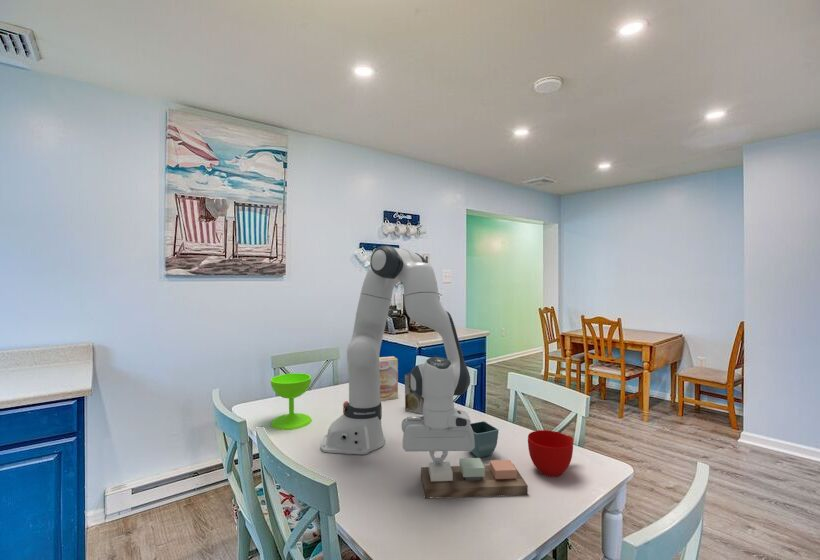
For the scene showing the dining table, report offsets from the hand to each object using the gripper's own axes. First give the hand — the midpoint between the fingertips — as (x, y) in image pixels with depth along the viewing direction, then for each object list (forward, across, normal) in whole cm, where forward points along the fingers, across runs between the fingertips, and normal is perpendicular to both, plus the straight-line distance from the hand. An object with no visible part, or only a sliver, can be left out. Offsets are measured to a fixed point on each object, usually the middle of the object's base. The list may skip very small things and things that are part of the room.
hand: (438, 465), depth 111 cm
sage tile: (+5, +10, 0) cm, 11 cm away
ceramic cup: (+6, +37, +8) cm, 38 cm away
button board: (+6, +10, 0) cm, 11 cm away
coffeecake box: (+6, -19, +80) cm, 82 cm away
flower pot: (+6, +16, +20) cm, 26 cm away
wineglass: (+7, -54, +51) cm, 75 cm away
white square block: (+6, +1, 0) cm, 6 cm away
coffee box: (+6, -2, +62) cm, 63 cm away
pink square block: (+5, +19, +1) cm, 19 cm away
